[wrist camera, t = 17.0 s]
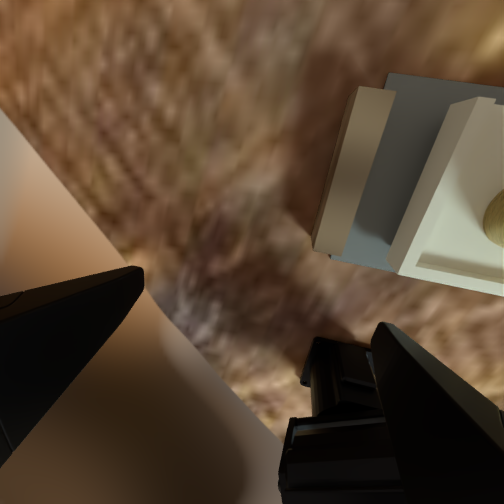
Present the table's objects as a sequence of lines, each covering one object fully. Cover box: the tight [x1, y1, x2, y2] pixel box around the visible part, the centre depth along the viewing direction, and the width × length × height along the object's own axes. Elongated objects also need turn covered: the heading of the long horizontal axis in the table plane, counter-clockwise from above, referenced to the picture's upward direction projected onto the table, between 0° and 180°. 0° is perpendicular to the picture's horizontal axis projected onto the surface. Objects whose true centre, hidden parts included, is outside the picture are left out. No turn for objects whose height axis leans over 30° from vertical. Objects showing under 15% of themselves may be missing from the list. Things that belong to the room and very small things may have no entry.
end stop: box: [311, 86, 397, 257], centre depth 17 cm, size 10×2×3 cm, turn 171°
